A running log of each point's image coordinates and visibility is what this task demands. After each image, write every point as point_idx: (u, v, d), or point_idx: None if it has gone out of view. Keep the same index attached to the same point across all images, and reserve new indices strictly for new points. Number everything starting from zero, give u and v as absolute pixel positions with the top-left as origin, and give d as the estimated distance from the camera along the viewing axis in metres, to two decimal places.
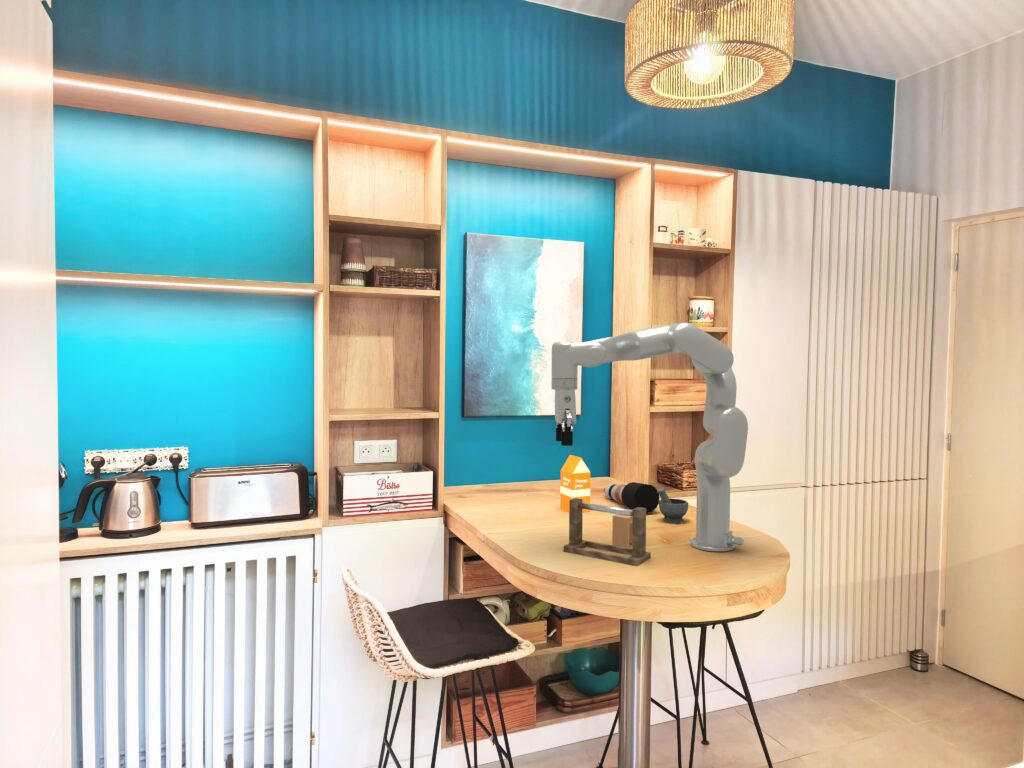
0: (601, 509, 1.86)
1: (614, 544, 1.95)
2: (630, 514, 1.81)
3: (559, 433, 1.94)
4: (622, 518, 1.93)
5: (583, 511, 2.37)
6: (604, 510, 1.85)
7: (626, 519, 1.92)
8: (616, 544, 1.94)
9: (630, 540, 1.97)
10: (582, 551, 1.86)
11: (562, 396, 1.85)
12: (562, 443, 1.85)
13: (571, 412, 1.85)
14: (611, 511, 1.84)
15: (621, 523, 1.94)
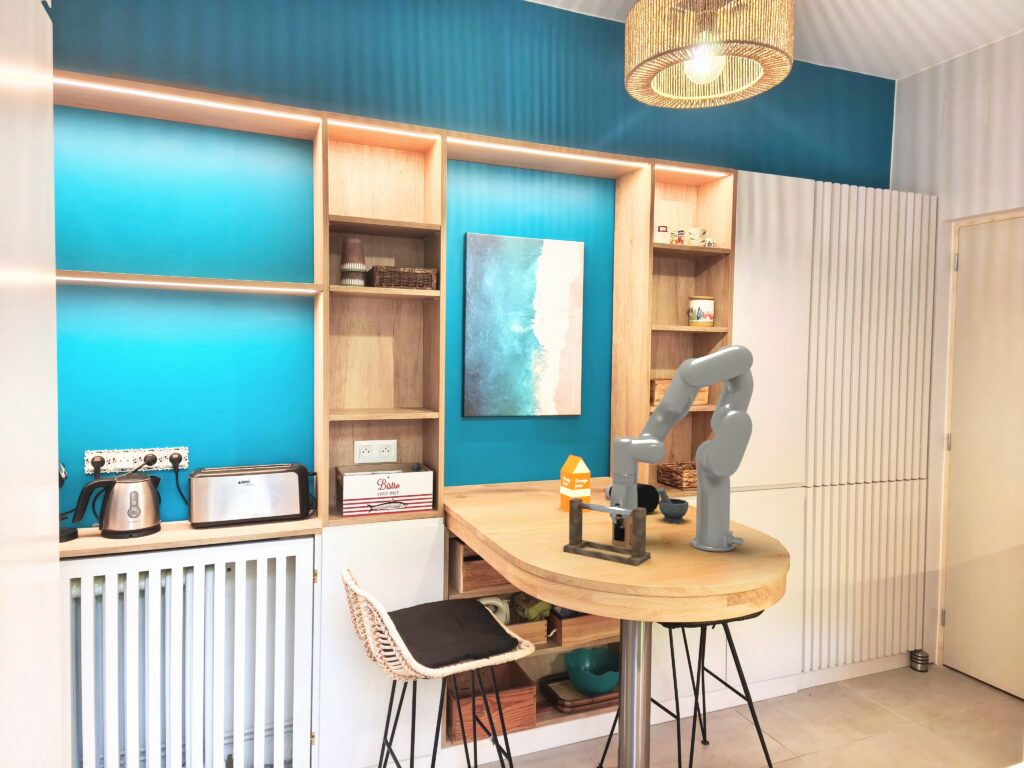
0: (601, 509, 1.86)
1: (614, 544, 1.95)
2: (630, 514, 1.81)
3: None
4: None
5: (583, 511, 2.37)
6: (604, 510, 1.85)
7: (626, 519, 1.92)
8: (616, 544, 1.94)
9: (630, 540, 1.97)
10: (582, 551, 1.86)
11: None
12: None
13: None
14: (611, 511, 1.84)
15: None
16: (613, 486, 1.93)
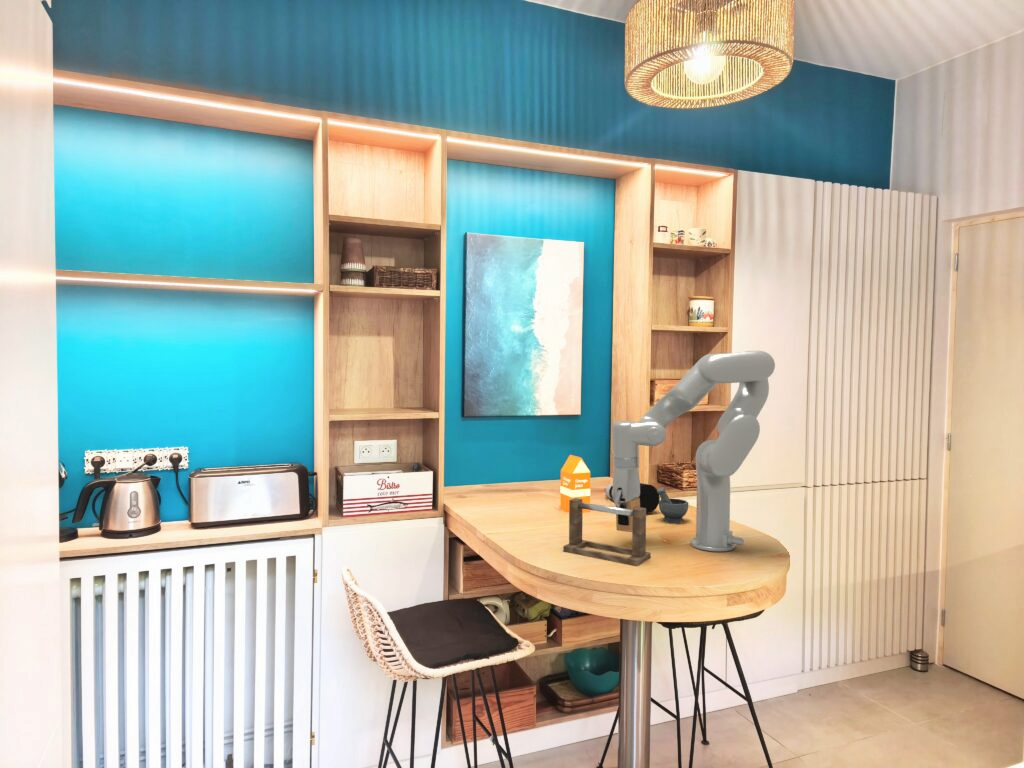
0: (601, 509, 1.86)
1: (618, 529, 1.95)
2: (630, 514, 1.81)
3: None
4: None
5: (583, 511, 2.37)
6: (604, 510, 1.85)
7: (629, 503, 1.92)
8: (620, 529, 1.94)
9: None
10: (582, 551, 1.86)
11: None
12: None
13: None
14: (611, 511, 1.84)
15: None
16: (615, 470, 1.93)
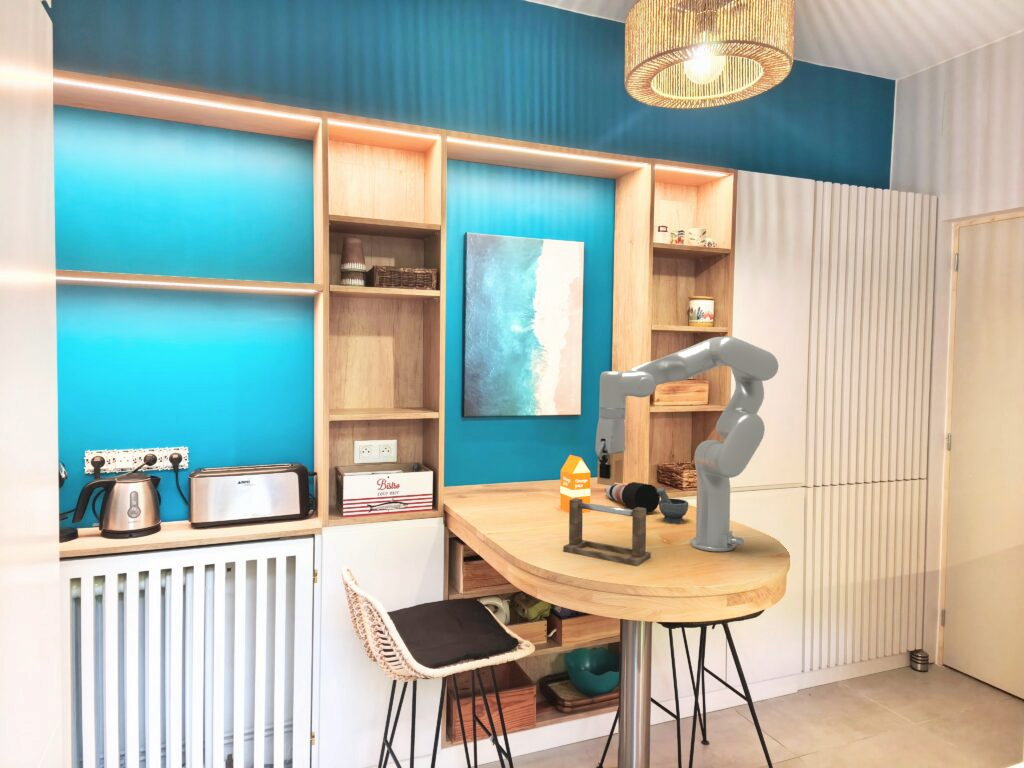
0: (601, 509, 1.86)
1: (599, 482, 1.87)
2: (630, 514, 1.81)
3: None
4: None
5: (583, 511, 2.37)
6: (604, 510, 1.85)
7: (612, 455, 1.84)
8: (601, 482, 1.87)
9: (616, 479, 1.89)
10: (582, 551, 1.86)
11: None
12: None
13: None
14: (611, 511, 1.84)
15: None
16: (599, 421, 1.85)
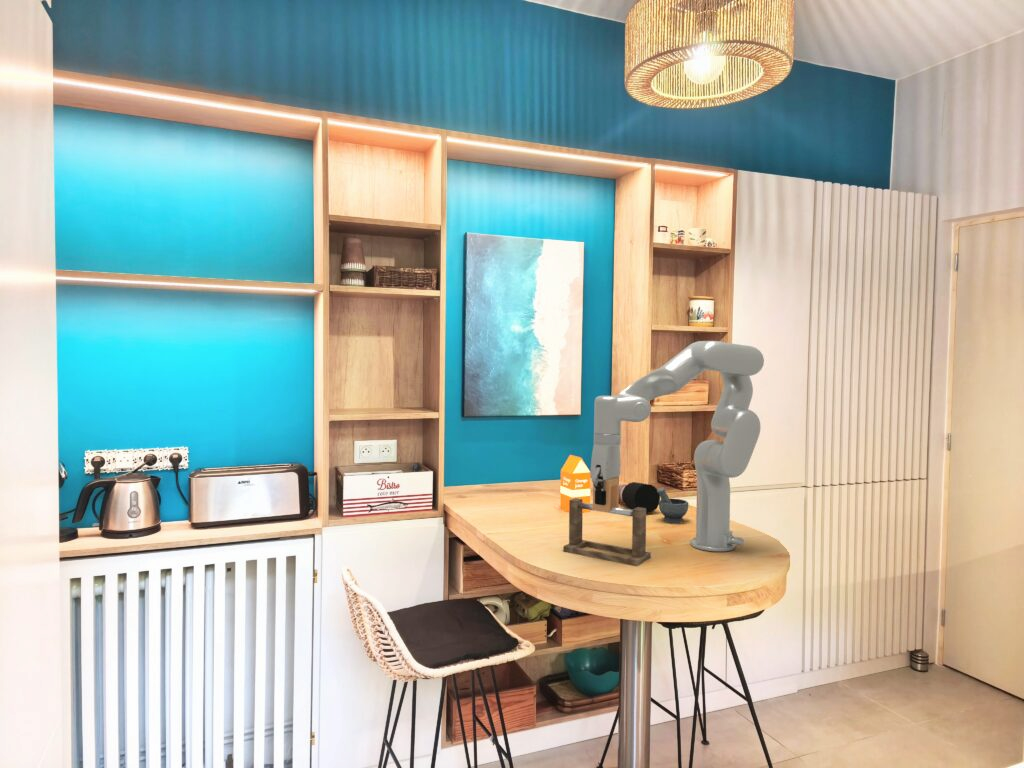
0: None
1: (595, 509, 1.84)
2: (630, 514, 1.81)
3: None
4: None
5: (583, 511, 2.37)
6: None
7: (607, 481, 1.82)
8: (596, 509, 1.84)
9: (612, 505, 1.87)
10: (582, 551, 1.86)
11: None
12: None
13: None
14: (611, 511, 1.84)
15: None
16: (594, 447, 1.83)
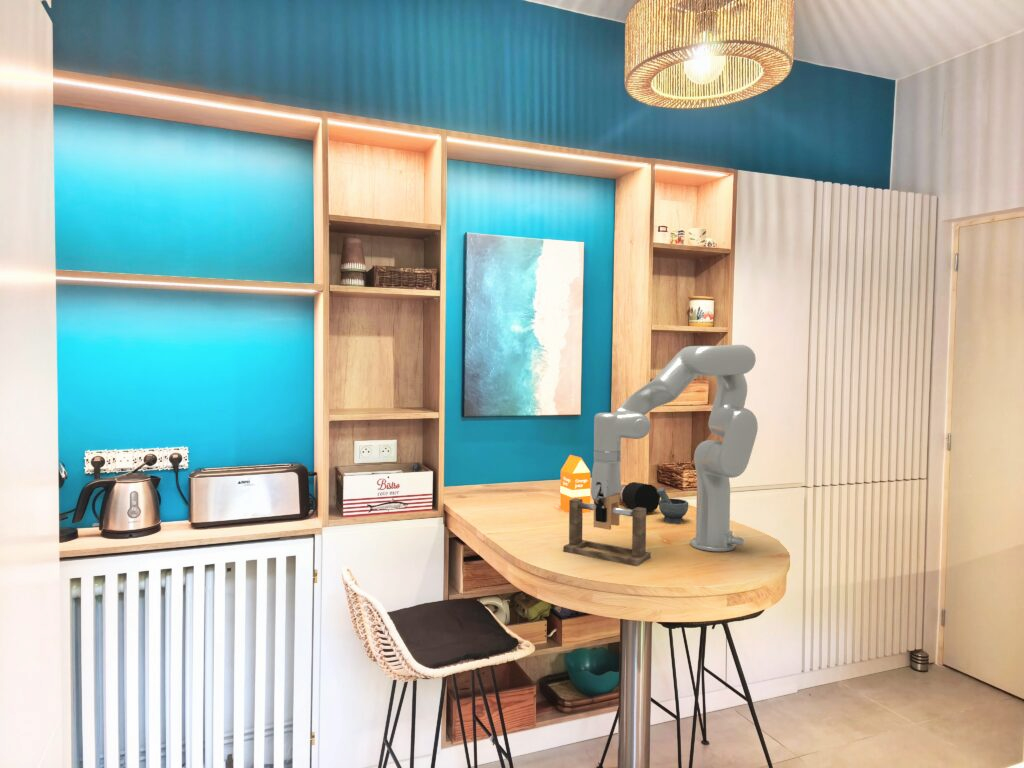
0: None
1: (596, 526, 1.85)
2: (630, 514, 1.81)
3: None
4: None
5: (583, 511, 2.37)
6: None
7: (608, 498, 1.82)
8: (597, 526, 1.84)
9: (612, 521, 1.87)
10: (582, 551, 1.86)
11: None
12: None
13: None
14: (611, 511, 1.84)
15: None
16: (594, 464, 1.83)
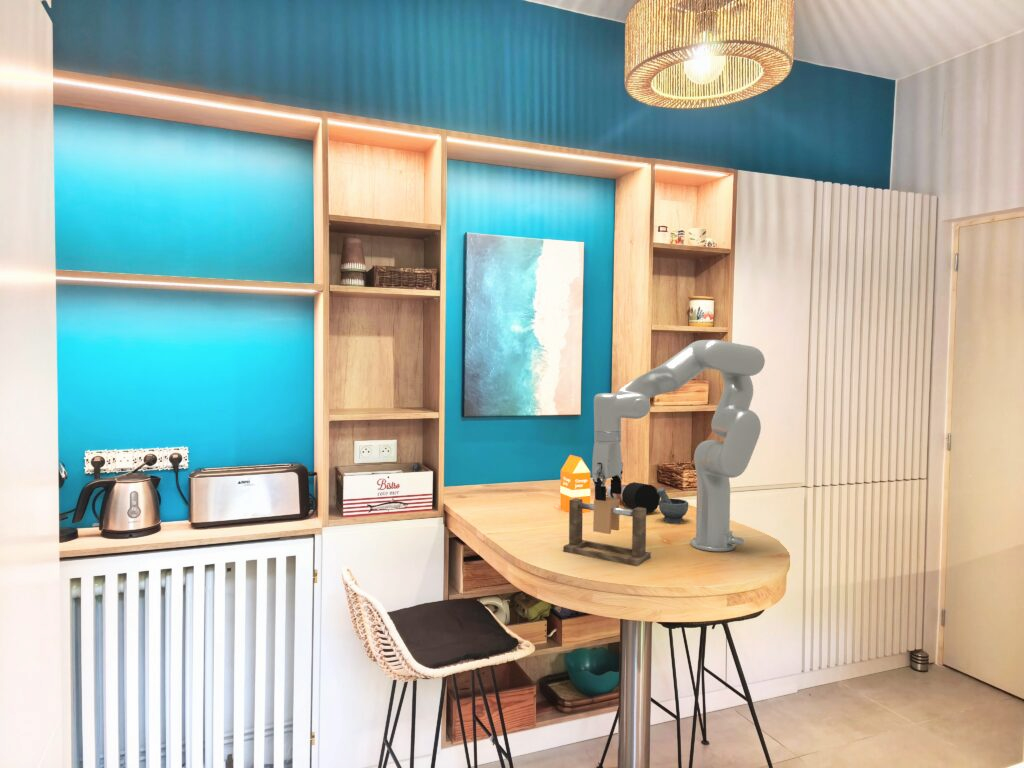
0: None
1: (595, 530, 1.85)
2: (630, 514, 1.81)
3: None
4: (604, 502, 1.83)
5: (583, 511, 2.37)
6: None
7: (608, 503, 1.82)
8: (597, 530, 1.84)
9: (612, 526, 1.87)
10: (582, 551, 1.86)
11: None
12: None
13: None
14: (611, 511, 1.84)
15: (602, 507, 1.84)
16: (595, 445, 1.83)
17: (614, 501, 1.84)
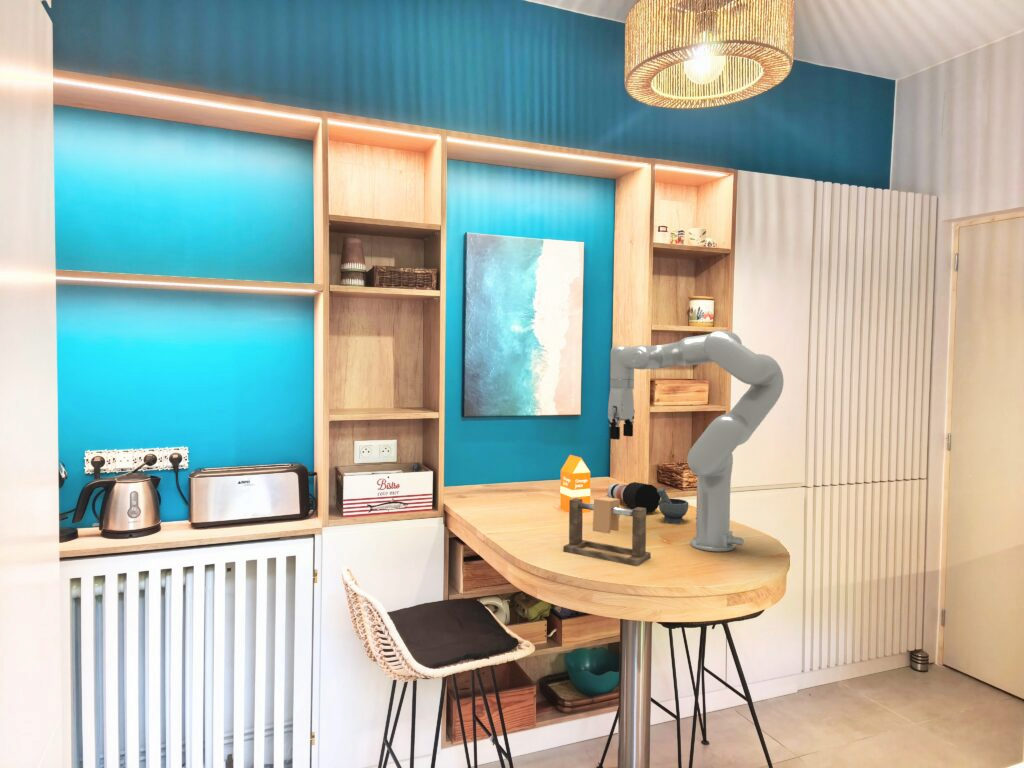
0: None
1: (595, 529, 1.84)
2: (630, 514, 1.81)
3: None
4: (604, 501, 1.83)
5: (583, 511, 2.37)
6: None
7: (608, 502, 1.82)
8: (596, 529, 1.84)
9: (612, 527, 1.87)
10: (582, 551, 1.86)
11: None
12: None
13: None
14: (611, 511, 1.84)
15: (602, 507, 1.84)
16: (611, 390, 2.08)
17: (614, 501, 1.84)
